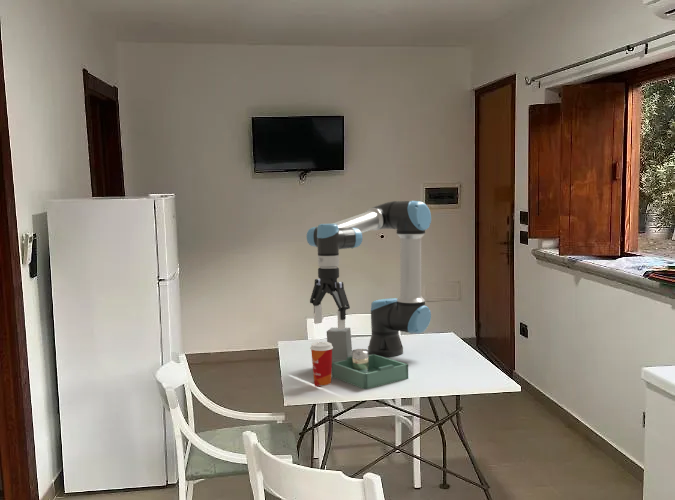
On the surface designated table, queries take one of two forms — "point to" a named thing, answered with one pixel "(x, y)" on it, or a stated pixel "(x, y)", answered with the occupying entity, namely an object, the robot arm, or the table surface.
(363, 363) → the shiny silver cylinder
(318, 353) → the coffee cup
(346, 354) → the skincare box
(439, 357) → the table surface
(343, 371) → the tote
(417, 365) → the table surface
